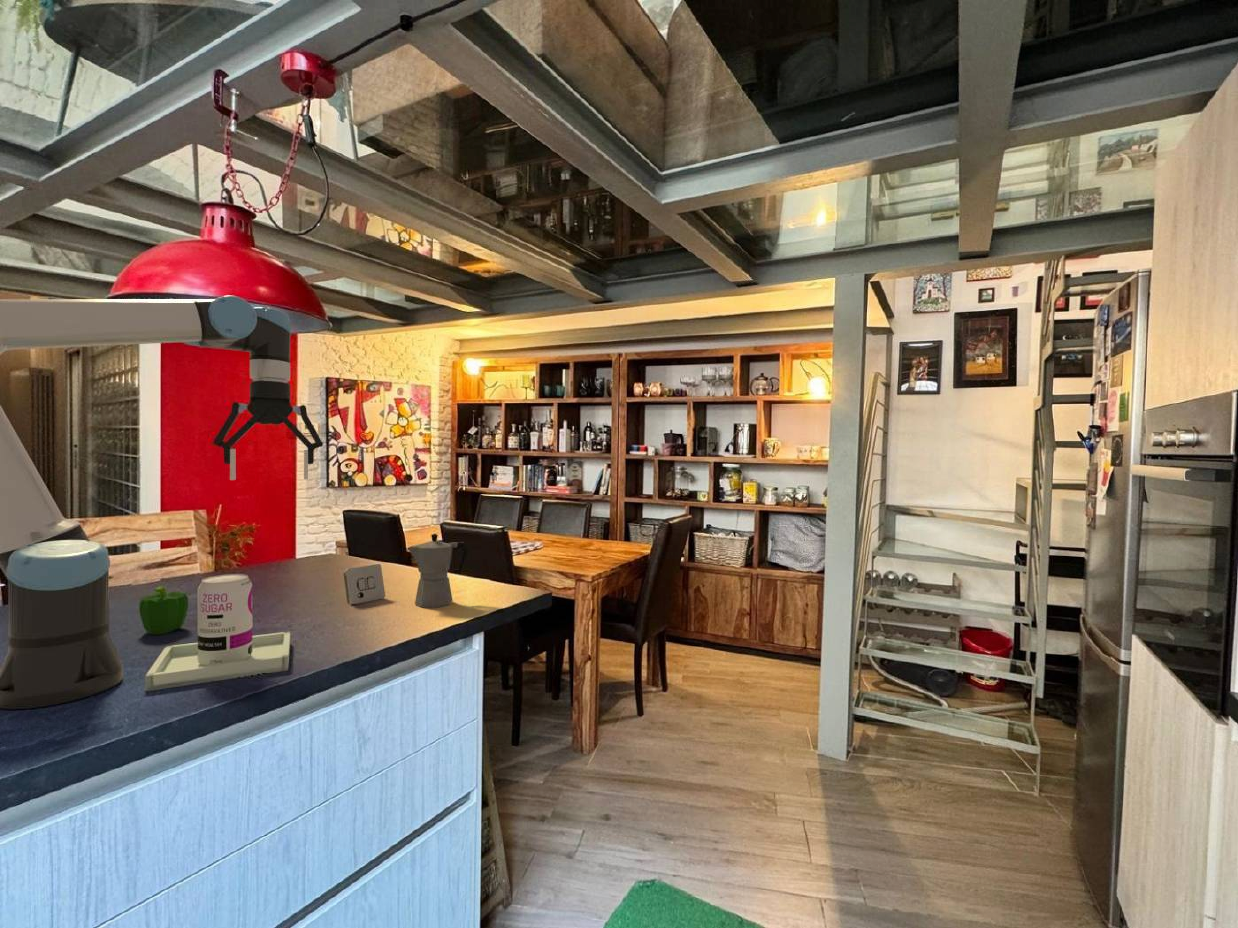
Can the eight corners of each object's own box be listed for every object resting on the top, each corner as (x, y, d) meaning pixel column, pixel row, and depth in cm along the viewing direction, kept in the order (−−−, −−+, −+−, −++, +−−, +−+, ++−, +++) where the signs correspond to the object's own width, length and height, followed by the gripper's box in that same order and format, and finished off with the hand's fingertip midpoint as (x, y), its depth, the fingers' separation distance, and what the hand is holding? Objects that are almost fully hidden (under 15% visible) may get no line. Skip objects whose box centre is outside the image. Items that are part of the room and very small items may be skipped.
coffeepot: (407, 610, 142) (407, 537, 141) (406, 601, 150) (406, 532, 150) (471, 604, 147) (471, 534, 147) (466, 596, 156) (467, 530, 156)
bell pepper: (161, 624, 128) (161, 580, 127) (197, 626, 127) (196, 581, 127) (127, 637, 119) (126, 589, 119) (164, 638, 119) (164, 590, 118)
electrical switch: (351, 606, 145) (349, 569, 146) (341, 604, 148) (339, 568, 149) (386, 599, 152) (384, 563, 153) (376, 597, 156) (374, 563, 156)
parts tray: (145, 691, 93) (145, 676, 93) (166, 659, 107) (166, 646, 107) (288, 670, 102) (288, 656, 102) (290, 643, 116) (290, 631, 116)
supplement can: (248, 649, 110) (248, 571, 110) (255, 661, 104) (255, 579, 104) (196, 658, 105) (196, 577, 105) (199, 672, 99) (199, 585, 98)
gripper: (333, 387, 134) (333, 478, 134) (202, 379, 122) (202, 479, 122) (335, 383, 127) (334, 479, 128) (197, 375, 115) (197, 480, 116)
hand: (270, 479), depth 125 cm, fingers open, 13 cm apart
